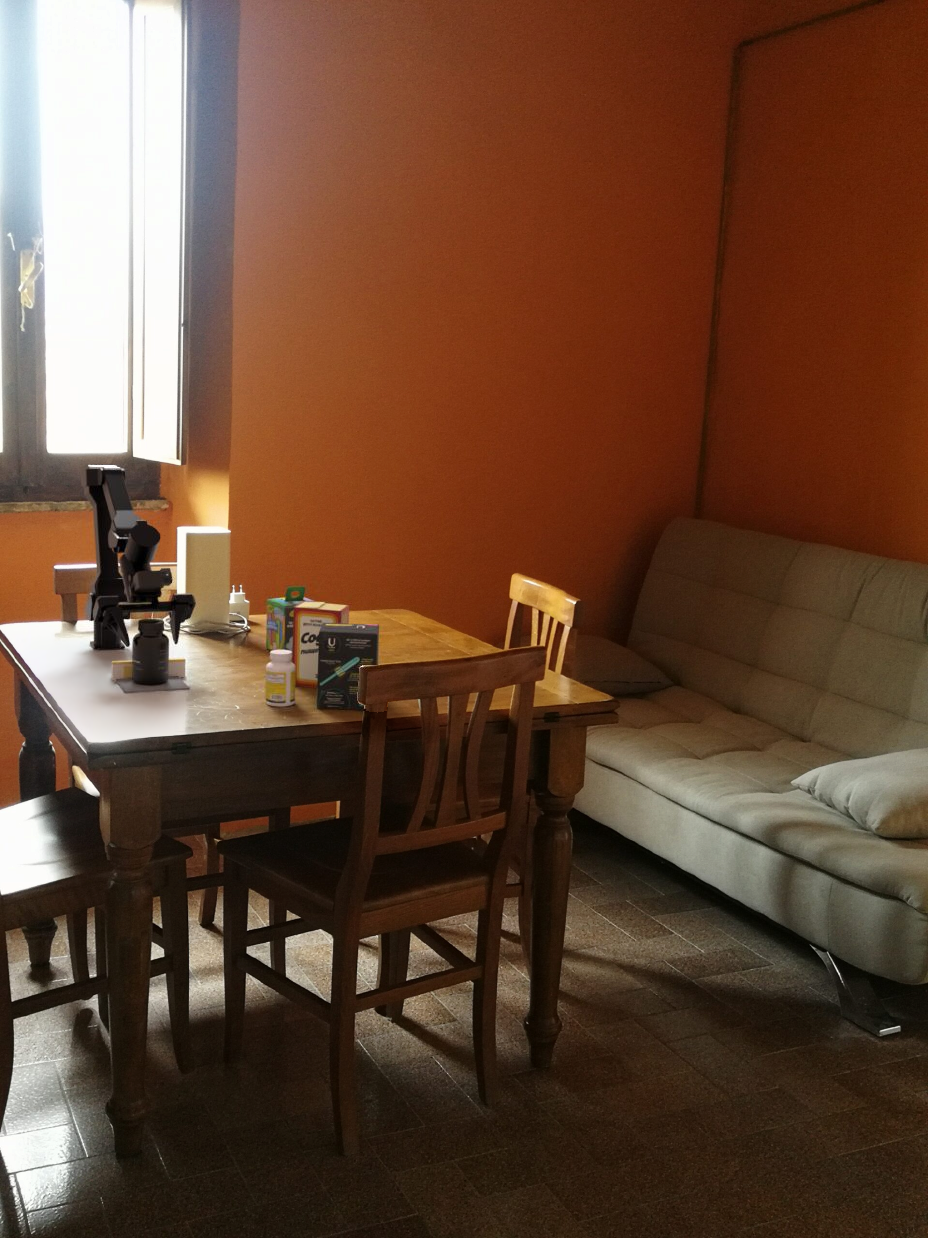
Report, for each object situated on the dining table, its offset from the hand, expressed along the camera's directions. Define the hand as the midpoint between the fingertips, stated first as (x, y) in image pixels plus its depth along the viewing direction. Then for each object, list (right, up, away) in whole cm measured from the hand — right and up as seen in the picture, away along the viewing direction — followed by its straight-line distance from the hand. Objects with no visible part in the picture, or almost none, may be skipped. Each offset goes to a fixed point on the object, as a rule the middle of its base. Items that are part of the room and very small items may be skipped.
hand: (152, 644), depth 225 cm
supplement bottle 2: (+25, -11, -7) cm, 28 cm away
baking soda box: (+30, -8, +10) cm, 33 cm away
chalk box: (+21, -3, +38) cm, 44 cm away
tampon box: (+37, -11, -4) cm, 39 cm away
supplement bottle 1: (-1, -7, +2) cm, 8 cm away
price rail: (-3, -7, +7) cm, 10 cm away
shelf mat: (0, -8, +1) cm, 8 cm away
